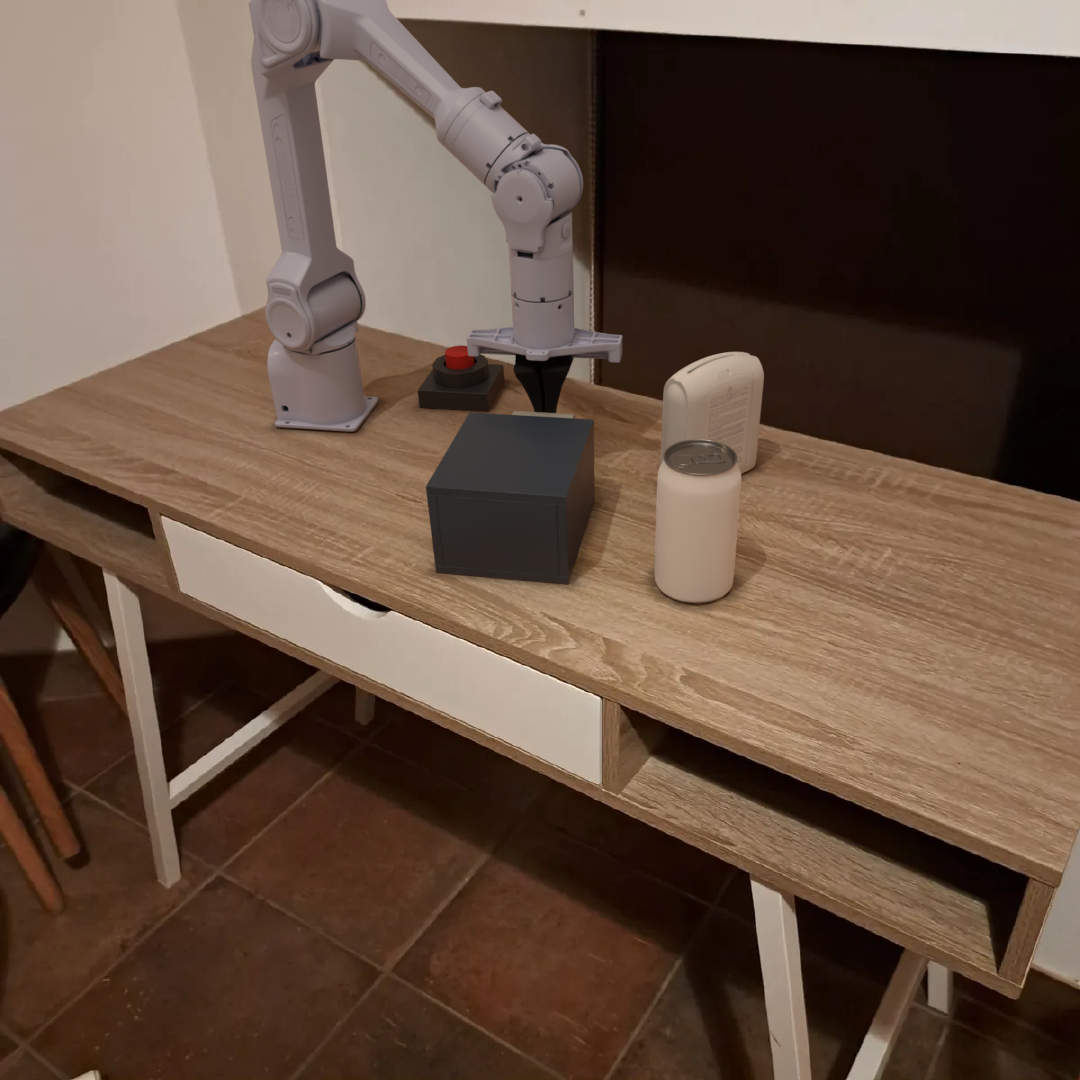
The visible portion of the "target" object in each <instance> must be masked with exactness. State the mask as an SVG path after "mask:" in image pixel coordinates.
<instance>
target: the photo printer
mask: <svg viewBox="0 0 1080 1080" xmlns="http://www.w3.org/2000/svg"><path fill="white" fill-rule="evenodd" d="M764 383H765V373H764V368H763V365H762V363H761V361H760V359H759V357H757V356H755V355H751V354H750V353H749V352H744V351H727V352H722V353H716V354H712V355H709V356H706V357H703V358H700V359H698V360H696V361H694V362H692V363H690V364H688V365H686V366H684V367H683V368H681V369H679V370H678V371H676V372H675V373H674V374H673V375H671V377H670V378H668V379H667V381H666V382H665V384H664V386H663V393H662V394H663V395H662V415H661V416H662V418H661V440H660V441H661V443H660V465H661V464H662V462H663V461H664V452H665V450H666V449H667V448H668V447H669V446H671V445H673V444H675V443H677V442H680V441H684V440H691V439H706V440H713V441H717V442H720V443H723V444H725V445H727V446H729V447H731V448H732V449H733V450H734V451H735V452H736V454H737V457H738V459H737V464H738V467H739V469H740V472H741V475H742V474H744V473H746V472H748V471H750V470H752V469H754V467H755V466H756V464H757V457H758V445H759V436H760V435H759V433H760V423H761V412H762V402H763V394H764V393H763V391H764Z"/></svg>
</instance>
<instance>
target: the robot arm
mask: <svg viewBox="0 0 1080 1080" xmlns="http://www.w3.org/2000/svg"><path fill="white" fill-rule="evenodd" d="M388 6H389V5H388V3H387V0H249V2H248V9H249V16H250V20H251V21H250V22H251V26H252V27H251V28H252V34H253V42H252V49H251V58H250V67H251V75H252V78H253V85H254V91H255V96H256V104H257V109H258V116H259V121H260V127H261V128H260V129H261V134H262V140H263V146H264V151H265V157H266V165H267V169H268V170H267V171H268V175H269V181H270V189H271V193H272V194H271V195H272V201H273V207H274V212H275V218H276V224H277V229H278V236H279V243H280V248H281V253H280V255H279V257H278V259H277V260H276V262H275V264H274V265H273V267H272V269H271V270H270V272H269V273H268V275H267V277H266V281H265V282H266V286H267V300H266V303H265V308H264V313H265V314H264V315H265V319H266V324H267V326H268V329H269V331H270V332H271V334H272V335H273V337H274V339H273V341H272V343H271V344H270V347H269V349H268V352H267V363H266V367H267V376H268V381H269V385H270V391H271V397H272V400H273V401H272V402H273V405H274V410H275V416H276V419H275V422H274V426H275V427H276V428H284V429H285V428H286V429H300V430H316V431H332V432H348V433H353V432H356V431H357V430H358V429H359V428H360V426H361V425H362V424H363V423H364V421H365V420H366V419H367V417H368V416H369V415H370V413H372V411H373V409H374V408H375V407H376V406H377V404H378V403H379V397H377V396H366V395H365V389H364V384H363V377H362V370H361V364H360V357H359V350H358V343H357V337H356V333H358V332H359V323H358V321H359V320H360V319H361V318H362V317H363V315H364V313H365V311H366V304H367V303H366V295H365V291H364V289H363V287H362V285H361V283H360V281H359V278H358V276H357V274H356V270H355V269H356V268H355V261H354V259H353V258H352V257H351V256H350V255H349V254H347V253H345V252H344V251H343V250H341V249H340V248H338V247H337V240H336V234H335V233H336V232H335V226H334V225H335V224H334V220H333V219H334V218H333V217H334V216H333V211H332V203H331V195H330V189H329V182H328V174H327V165H326V159H325V151H324V144H323V136H322V135H323V134H322V129H321V120H320V114H319V107H318V99H317V93H316V91H317V90H316V82H317V80H318V79H320V77H321V76H322V75H323V74H324V72H325V71H326V70H327V69H328V67H329V66H330V65H331V64H332V63H333V61H335V60H345V61H346V60H347V61H362V62H365V63H367V64H368V65H370V67H371V68H373V69H374V70H375V71H376V72H378V74H380V75H381V76H382V77H384V78H385V79H386V80H387V81H388V82H389V83H391V84H392V85H393V86H394V87H396V88H397V90H399V91H400V92H401V93H403V94H404V95H405V96H406V97H408V98H409V99H410V100H411V101H412V102H414V103H415V104H416V105H417V107H418V106H419V107H420V108H421V109H422V110H423V111H424V112H425V113H427V114H428V115H429V116H430V117H431V118H433V120H434V123H435V133H436V138H437V141H438V143H439V144H440V145H441V146H443V147H444V148H445V149H446V150H447V151H448V152H449V153H450V154H451V155H452V156H453V157H454V158H455V159H457V161H458V162H460V163H461V165H463V166H464V168H466V170H468V171H469V172H470V173H471V174H472V175H473V176H474V177H475V178H476V179H477V180H479V182H480V183H481V184H483V186H485V187H486V188H487V189H488V190H489V191H490V192H491V194H490V197H491V198H490V199H491V203H492V207H493V209H494V211H495V215H497V217H498V219H499V220H500V221H501V223H502V225H503V227H504V230H505V241H506V243H507V244H508V246H507V247H508V262H509V282H510V298H511V314H512V316H511V317H512V326H508V327H507V326H506V327H497V328H486V329H485V328H484V329H470V331H469V333H468V334H467V336H466V346H467V348H468V356H475V357H477V356H479V355H480V354H481V355H500V356H501V355H502V356H514V357H515V358H514V359H515V360H514V365H513V369H512V370H513V373H514V376H515V377H516V379H517V380H518V381H519V383H520V385H521V386H522V387H523V389H524V391H525V393H526V394H527V396H528V399H529V401H530V403H531V406H532V408H533V412H544V413H557V410H558V405H559V399H560V395H561V392H562V389H563V388H562V387H563V386H564V383H565V381H566V379H567V376H568V374H569V372H570V370H571V367H572V364H573V361H574V359H596V360H597V359H598V360H608V363H617V364H619V363H620V362H621V360H622V357H623V356H622V355H623V335H622V334H611V333H604V332H598V331H594V330H588V329H585V328H584V329H583V328H579V327H578V328H577V327H575V299H574V296H575V293H574V292H575V291H574V290H575V289H574V288H575V287H574V248H573V247H574V242H573V241H574V240H573V239H574V238H573V212H571V210H572V209H573V208H574V207H575V206H576V205H578V204H579V203H578V202H580V199H581V197H582V195H583V190H584V178H583V174H582V170H581V168H580V166H579V164H578V162H577V161H576V159H575V158H574V157H573V156H572V154H571V152H570V151H569V150H568V149H567V148H565V147H563V146H562V145H558V144H553V143H552V144H551V143H549V144H546V143H543V142H542V140H541V138H540V137H538V136H537V135H536V134H535V133H530V132H528V130H527V129H525V128H524V127H523V126H522V125H521V124H520V123H519V121H517V120H516V118H514V117H513V116H512V115H511V114H510V113H508V112H507V111H506V110H505V109H504V108H503V107H502V106H501V104H502V103H503V100H502V98H501V96H499V95H498V94H497V93H496V92H495V91H494V90H489V91H485V90H484V89H483V88H482V87H479V86H472V87H461V86H460V85H459V84H458V83H457V82H456V81H455V80H454V79H453V77H452V76H450V74H449V73H448V72H447V71H446V70H445V69H444V67H442V66H441V64H440V63H439V62H438V61H437V60H436V59H435V57H433V56H432V55H431V54H430V53H429V52H428V51H427V49H426V48H425V47H423V45H422V44H421V43H420V42H419V41H418V39H417V38H415V37H414V36H413V34H412V33H411V32H410V31H409V30H408V28H406V27H405V26H404V25H403V23H402V22H400V20H399V19H398V18H397V17H396V16H395V15H394V14H393V13H392V12H391V10H390V9H389V7H388Z"/></svg>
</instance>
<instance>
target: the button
mask: <svg viewBox="0 0 1080 1080" xmlns="http://www.w3.org/2000/svg"><path fill="white" fill-rule="evenodd" d="M444 355H445V359H446V367H447V368H450V369H465V368H469V367H472V366H474V356H468V348H467V345H463V344H462V345H454V346H450V347H448V348H446V349H445V350H444Z"/></svg>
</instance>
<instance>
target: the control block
mask: <svg viewBox="0 0 1080 1080" xmlns="http://www.w3.org/2000/svg"><path fill="white" fill-rule="evenodd" d="M431 366H432V369H431V371H429V373H428V375H427V376H426V378H425V379H424V380H423V382H422V383H421V385H420V386H419V387H418V389H417V396H418V397H417V398H418V407H419V408H420V409H437V410H438V409H439V410H453V411H454V410H456V411H469V412H489V410H490V408H491V406H492V405H493V404H494V402H495V399H496V398H497V396H498V394H499V392H500V390H501V389H502V387H503V386H504V383H505V368H504V367H505V366H504V364H497V363H495V364H494V363H489V360H488V359H487V357H486V356H485V354H480V355H479V356H477V357H475V356H474V366H472V367H469V368H465V369H450V368H447V367H446V359H445V354H443V355H441V356H438V357H436V358H435V359H434V360H433V362H432V364H431Z"/></svg>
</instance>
